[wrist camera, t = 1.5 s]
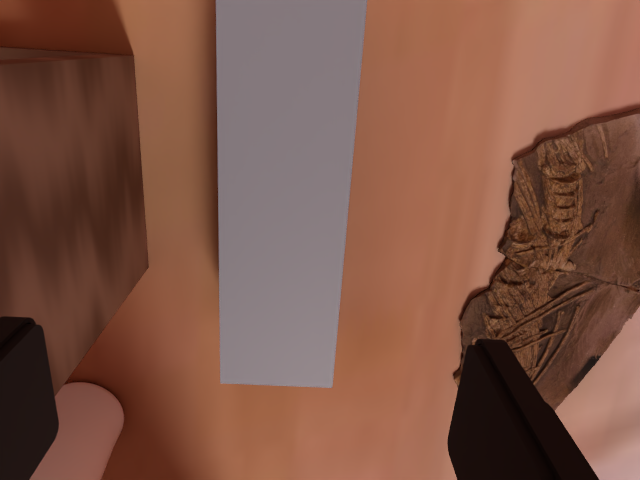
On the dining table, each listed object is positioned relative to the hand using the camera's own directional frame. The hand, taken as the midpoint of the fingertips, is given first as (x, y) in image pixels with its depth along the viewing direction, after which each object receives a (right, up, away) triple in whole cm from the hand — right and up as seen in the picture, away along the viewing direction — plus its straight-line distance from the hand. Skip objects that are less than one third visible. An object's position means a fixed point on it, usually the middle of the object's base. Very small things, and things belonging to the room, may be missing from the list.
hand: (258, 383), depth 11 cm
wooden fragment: (+16, -1, +21) cm, 27 cm away
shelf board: (0, +6, +14) cm, 15 cm away
